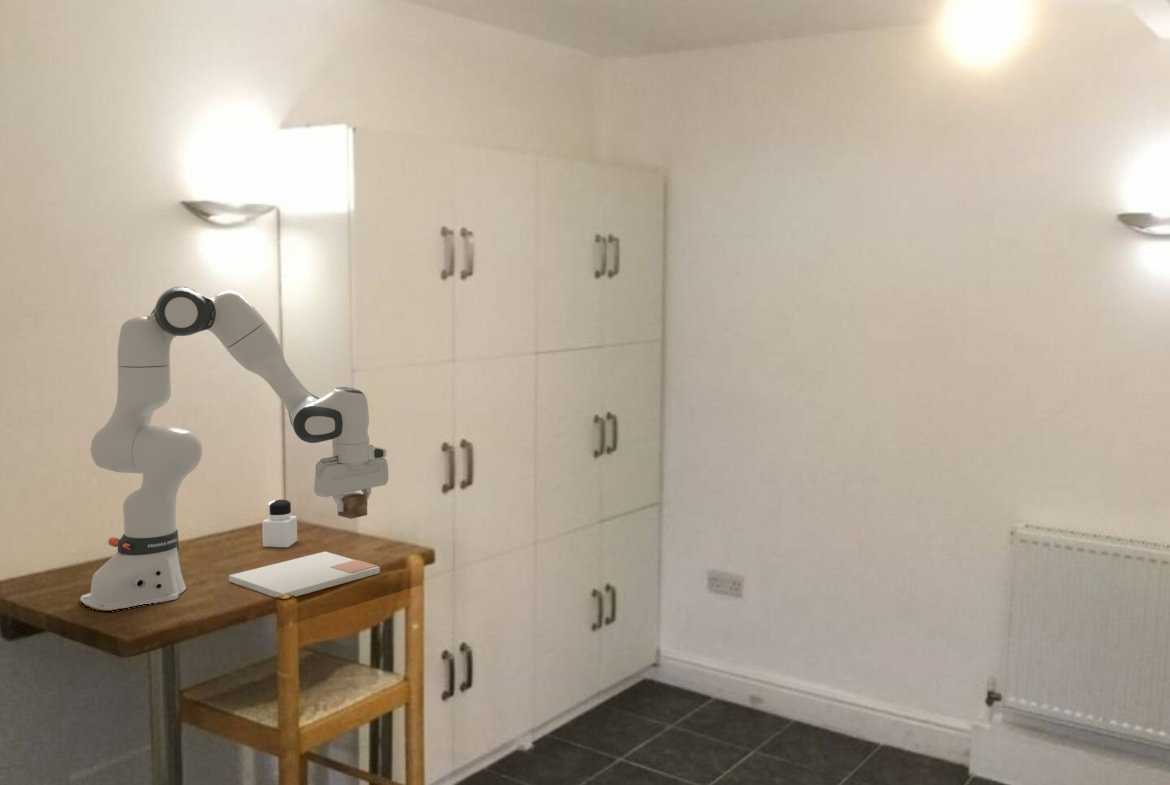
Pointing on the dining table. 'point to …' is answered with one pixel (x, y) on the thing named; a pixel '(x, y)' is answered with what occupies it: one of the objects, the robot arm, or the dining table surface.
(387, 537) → the dining table surface
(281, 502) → the medicine bottle
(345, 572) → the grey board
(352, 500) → the walnut cube
